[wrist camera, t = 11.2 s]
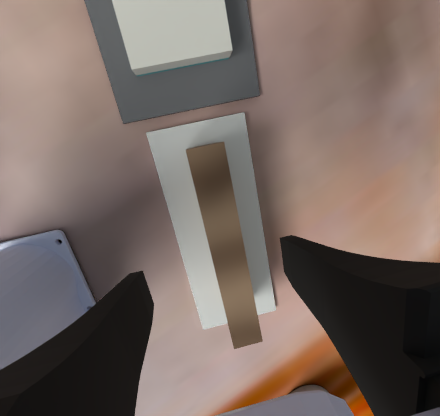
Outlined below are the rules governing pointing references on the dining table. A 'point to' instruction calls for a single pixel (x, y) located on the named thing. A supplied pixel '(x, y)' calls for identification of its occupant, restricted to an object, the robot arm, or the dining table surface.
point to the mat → (176, 70)
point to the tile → (173, 33)
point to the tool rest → (191, 215)
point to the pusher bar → (225, 240)
